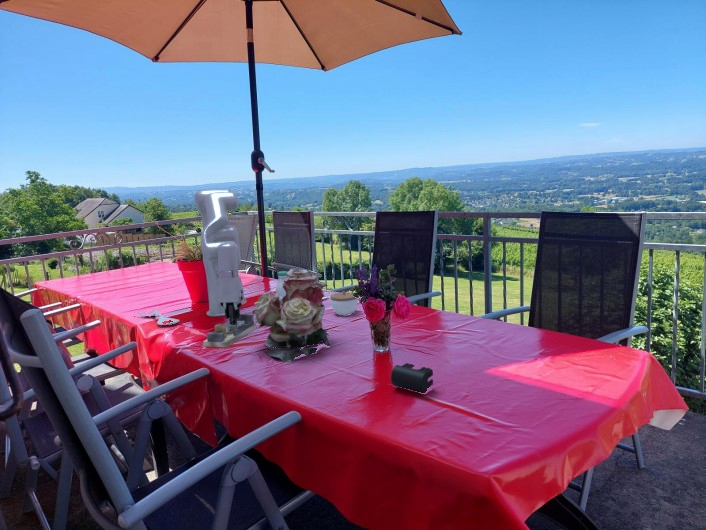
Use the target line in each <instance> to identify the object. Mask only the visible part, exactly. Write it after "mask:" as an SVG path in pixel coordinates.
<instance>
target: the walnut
mask: <svg viewBox="0 0 706 530" xmlns="http://www.w3.org/2000/svg"><path fill="white" fill-rule="evenodd" d="M214 331H215V332H218V333H224V337H225V338H226V337H227V335H226V326H225V324H224V323H218V324H215V325H214Z"/></svg>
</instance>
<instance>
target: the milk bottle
mask: <svg viewBox="0 0 706 530" xmlns="http://www.w3.org/2000/svg"><path fill="white" fill-rule="evenodd" d="M287 272H288V270H287V271H286V270H281V271H278V272H277V277H278V279H277V283H276V286H275V294H276V295H278V296H282V297H284V296H285V295H286V291H285V290H284V288H283V287H282V285H283V283H284V279H287V278H288V275H287V274H286V273H287Z"/></svg>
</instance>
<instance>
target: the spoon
mask: <svg viewBox="0 0 706 530" xmlns="http://www.w3.org/2000/svg"><path fill="white" fill-rule="evenodd" d="M149 310H150V309H149ZM137 313H138V314H139V315H141V316H143V315H145V314H147V313H154V314H153V315H151V316H155V317H159V318H158V320H157V322H156V324H158V326H162V325H169V326H172V324H173V325H175V324H177V323H179V322H180V319H176V318H171V317H167V316H163V314H162V313H159V311H158V309H157V308H156V307H154V309H152V310H150V311H148V310H147V311H146V312H145V311H141V312H140V311H139V310H138V311H137ZM169 320H171V321H173V322H170V323H166V324H163V323H162V322H164V321H169Z"/></svg>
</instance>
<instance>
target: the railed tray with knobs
mask: <svg viewBox="0 0 706 530" xmlns="http://www.w3.org/2000/svg"><path fill="white" fill-rule="evenodd" d="M237 321H245V325H244V326H242V327H241V328H239V329H238V330H236V331H234V332H233V333H226V335H227V337H226V338H225V337H224V333H218V332H215V330H213V331H212V332H211V331H210V332H208V333H207V334H206V339H205V340H203V341H202V346H203V348H204V347H207V348H208V347H210V348H228V347H230V346H232V345H233V344H235V343H236V342H238V341H239V340H240V339H242V338H243V337H245V336H246V335H248V334H249V333H251V332H252V331H254V330H255V329H257V322H256V323H255V319H254V314H253V313H240V316H239V318H237Z"/></svg>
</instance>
